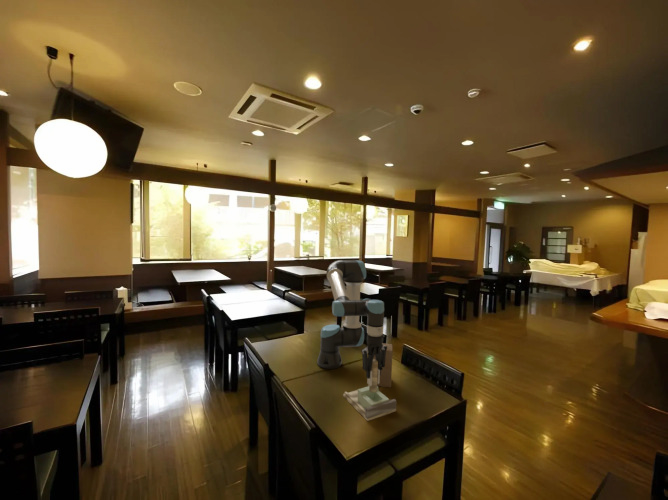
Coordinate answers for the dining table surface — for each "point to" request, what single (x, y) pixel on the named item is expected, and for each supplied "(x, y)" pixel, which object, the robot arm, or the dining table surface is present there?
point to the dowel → (374, 376)
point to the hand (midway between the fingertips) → (373, 383)
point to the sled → (370, 397)
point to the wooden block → (386, 368)
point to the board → (373, 410)
